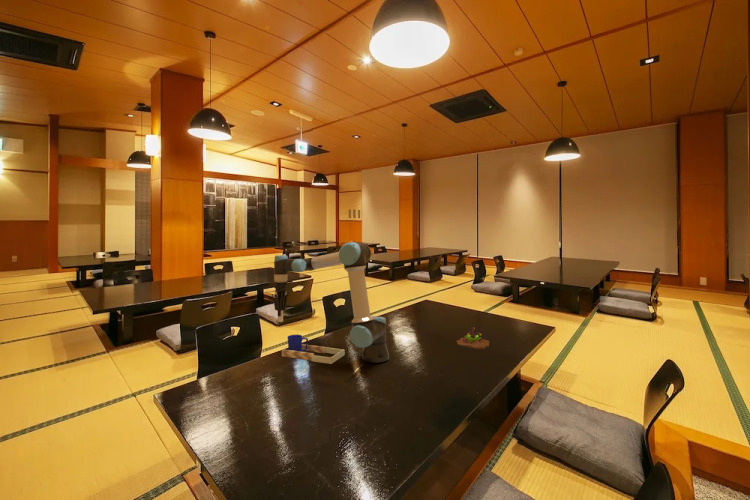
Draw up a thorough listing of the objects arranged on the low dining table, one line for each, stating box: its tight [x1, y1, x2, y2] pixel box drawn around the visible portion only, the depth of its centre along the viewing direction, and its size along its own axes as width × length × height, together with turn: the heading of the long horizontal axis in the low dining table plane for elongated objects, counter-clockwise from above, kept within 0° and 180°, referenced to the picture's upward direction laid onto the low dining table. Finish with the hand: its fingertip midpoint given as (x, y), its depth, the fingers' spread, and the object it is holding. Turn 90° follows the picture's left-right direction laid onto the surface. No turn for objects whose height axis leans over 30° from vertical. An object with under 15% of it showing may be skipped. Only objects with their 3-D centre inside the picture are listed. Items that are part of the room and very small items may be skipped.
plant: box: [455, 326, 490, 350], centre depth 205 cm, size 20×20×11 cm
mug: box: [287, 334, 309, 352], centre depth 186 cm, size 8×12×10 cm
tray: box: [311, 346, 346, 365], centre depth 179 cm, size 12×16×3 cm
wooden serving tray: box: [281, 343, 326, 361], centre depth 184 cm, size 20×14×4 cm
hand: (280, 321), depth 190 cm, fingers closed
